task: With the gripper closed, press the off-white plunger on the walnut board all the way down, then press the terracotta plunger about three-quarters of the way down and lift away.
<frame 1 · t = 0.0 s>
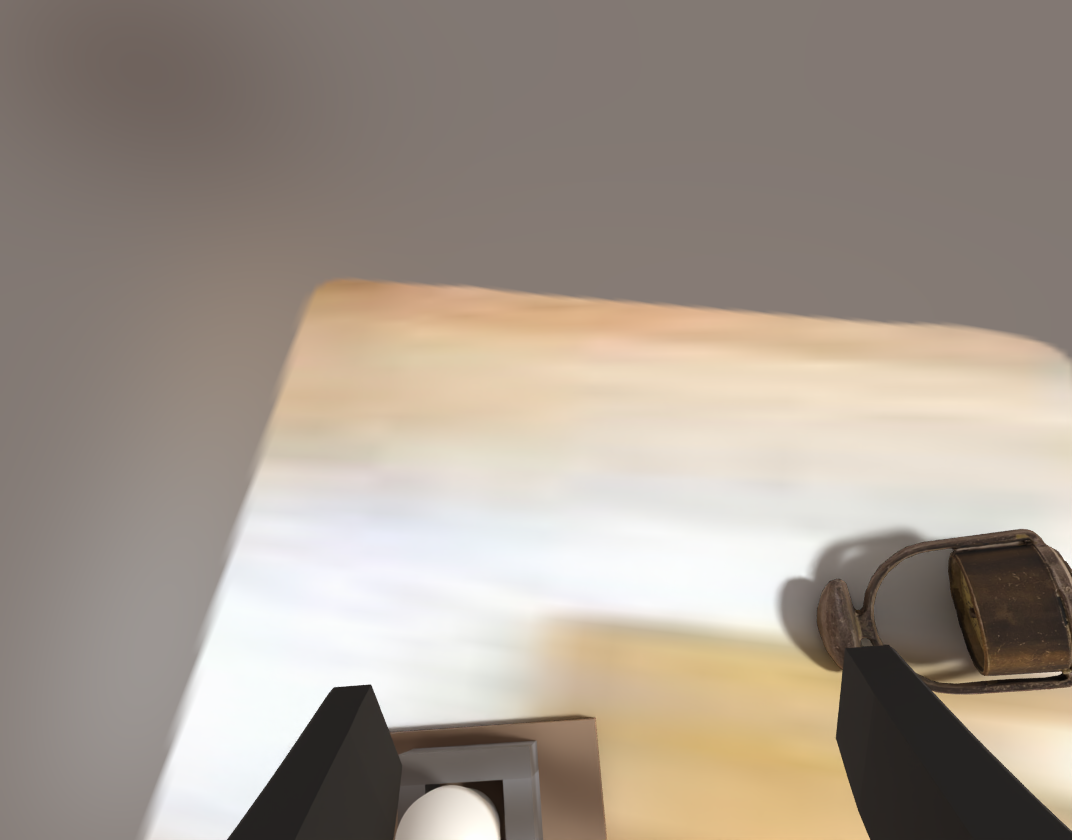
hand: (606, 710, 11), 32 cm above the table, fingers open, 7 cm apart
pale plunger: (456, 836, 34), point 6 cm above the table, slide at 0.0 cm
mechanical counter: (928, 609, 40), on the table
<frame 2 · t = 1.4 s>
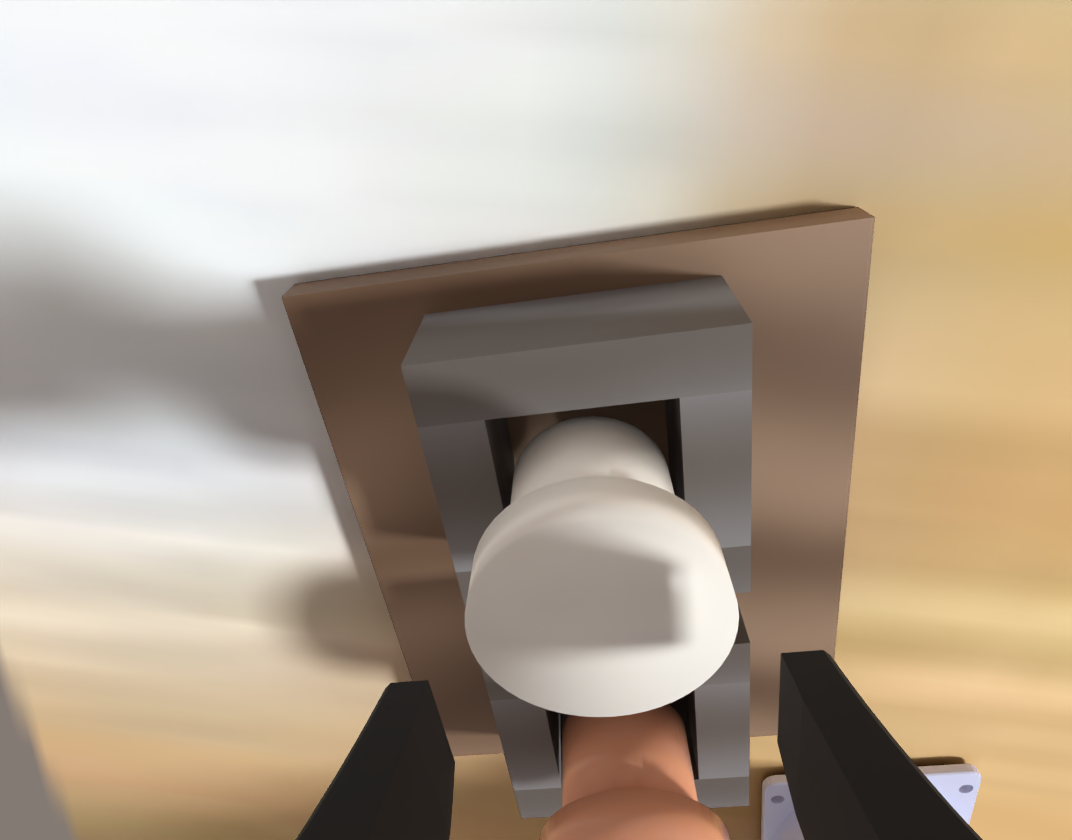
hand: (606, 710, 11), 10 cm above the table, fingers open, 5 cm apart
rust plunger: (629, 806, 18), point 6 cm above the table, slide at 0.0 cm
pale plunger: (594, 546, 14), point 6 cm above the table, slide at 0.0 cm
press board: (601, 532, 22), on the table
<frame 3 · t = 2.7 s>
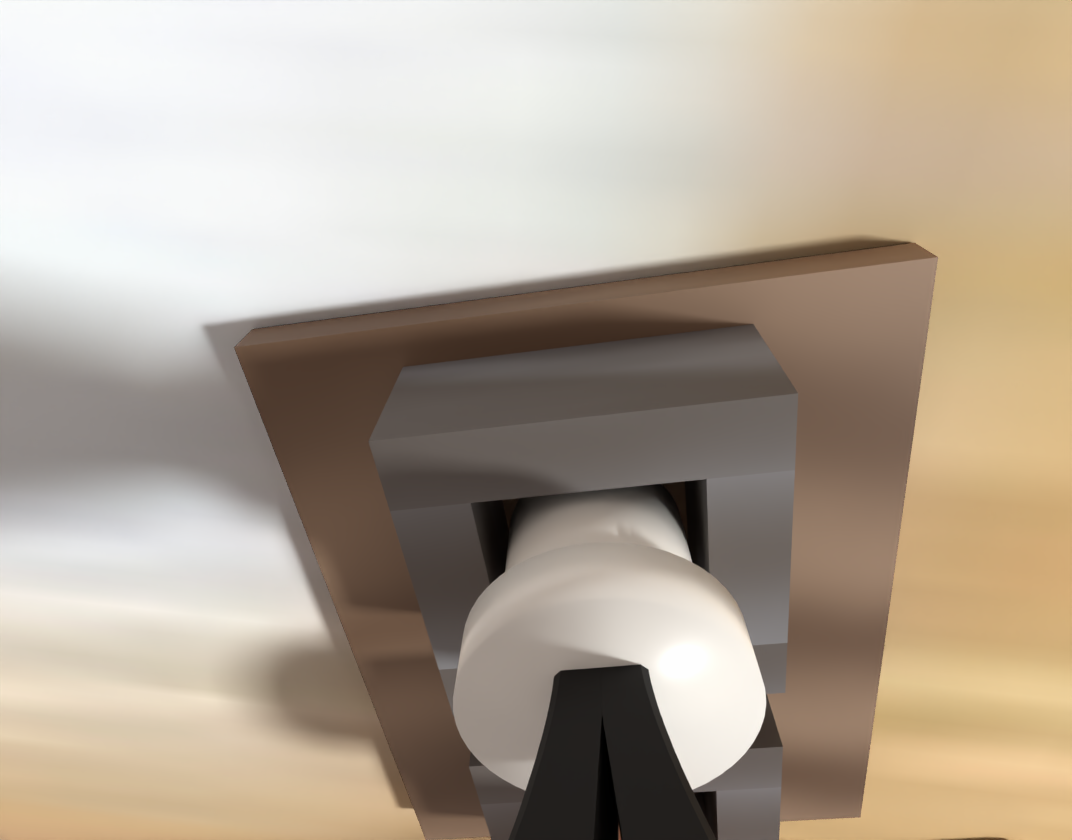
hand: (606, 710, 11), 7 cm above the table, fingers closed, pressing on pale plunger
pale plunger: (600, 609, 13), point 5 cm above the table, slide at 1.2 cm, touching gripper
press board: (608, 602, 19), on the table
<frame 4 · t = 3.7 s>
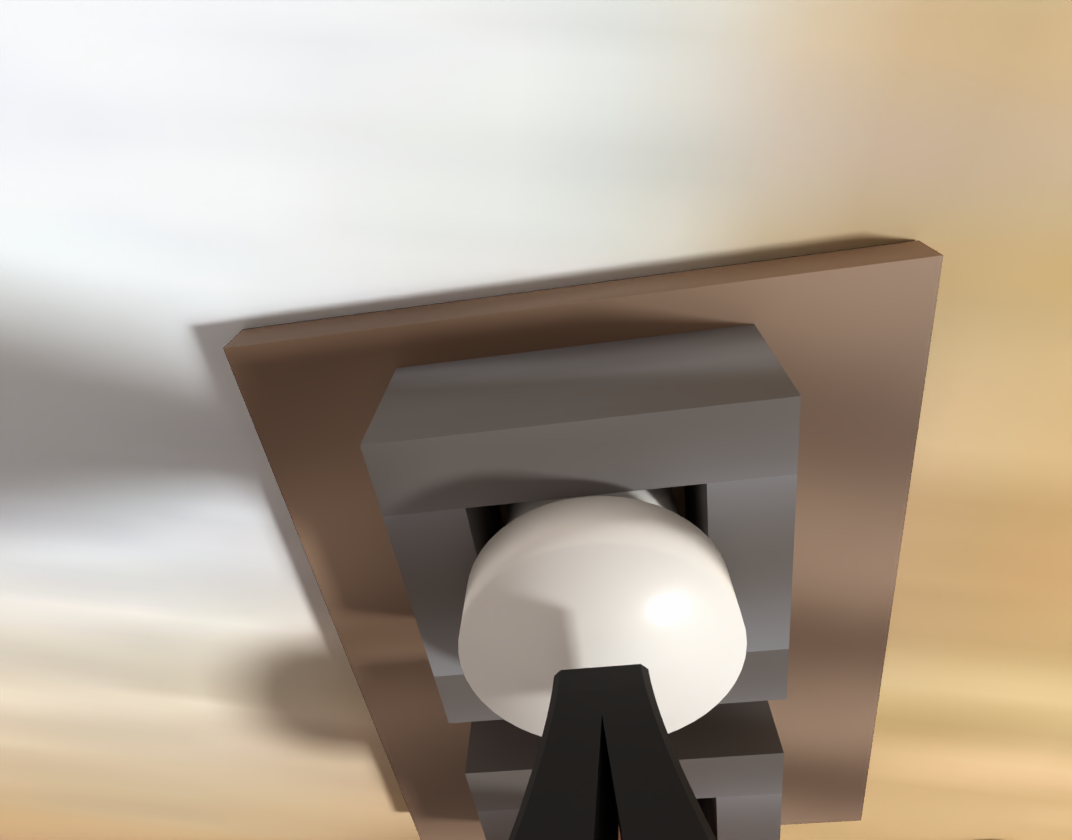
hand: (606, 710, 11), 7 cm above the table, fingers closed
pale plunger: (595, 565, 14), point 3 cm above the table, slide at 2.6 cm
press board: (606, 605, 19), on the table
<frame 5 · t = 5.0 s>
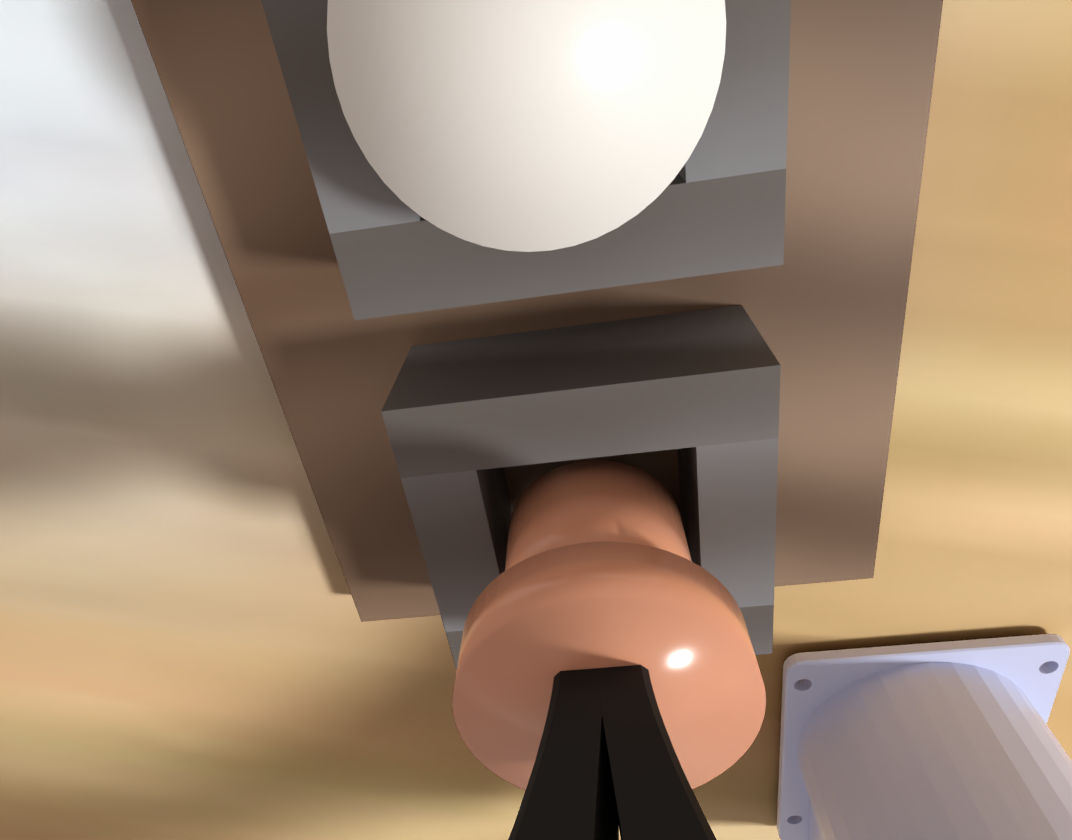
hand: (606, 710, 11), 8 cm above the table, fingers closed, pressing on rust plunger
rust plunger: (600, 609, 13), point 6 cm above the table, slide at 0.2 cm, touching gripper
pale plunger: (531, 50, 10), point 3 cm above the table, slide at 2.6 cm
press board: (567, 271, 15), on the table
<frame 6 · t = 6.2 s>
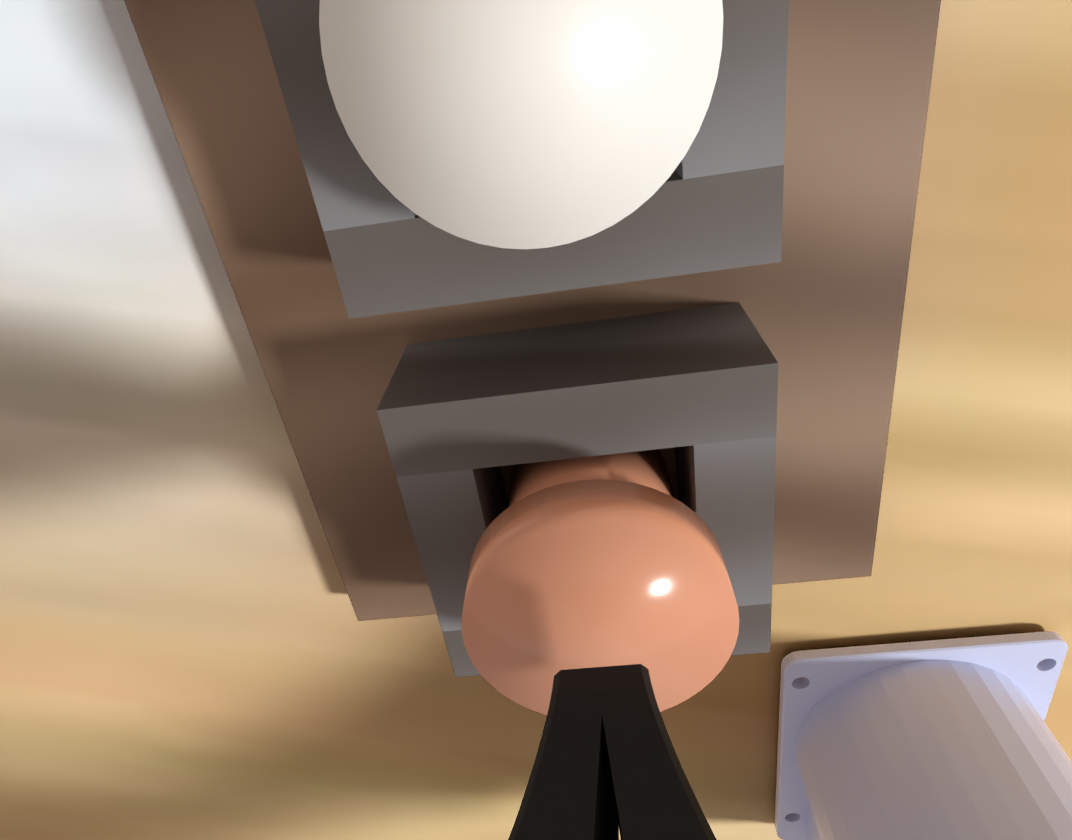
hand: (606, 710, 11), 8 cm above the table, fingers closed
rust plunger: (593, 549, 14), point 4 cm above the table, slide at 1.8 cm
pale plunger: (527, 45, 10), point 3 cm above the table, slide at 2.6 cm
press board: (563, 269, 15), on the table
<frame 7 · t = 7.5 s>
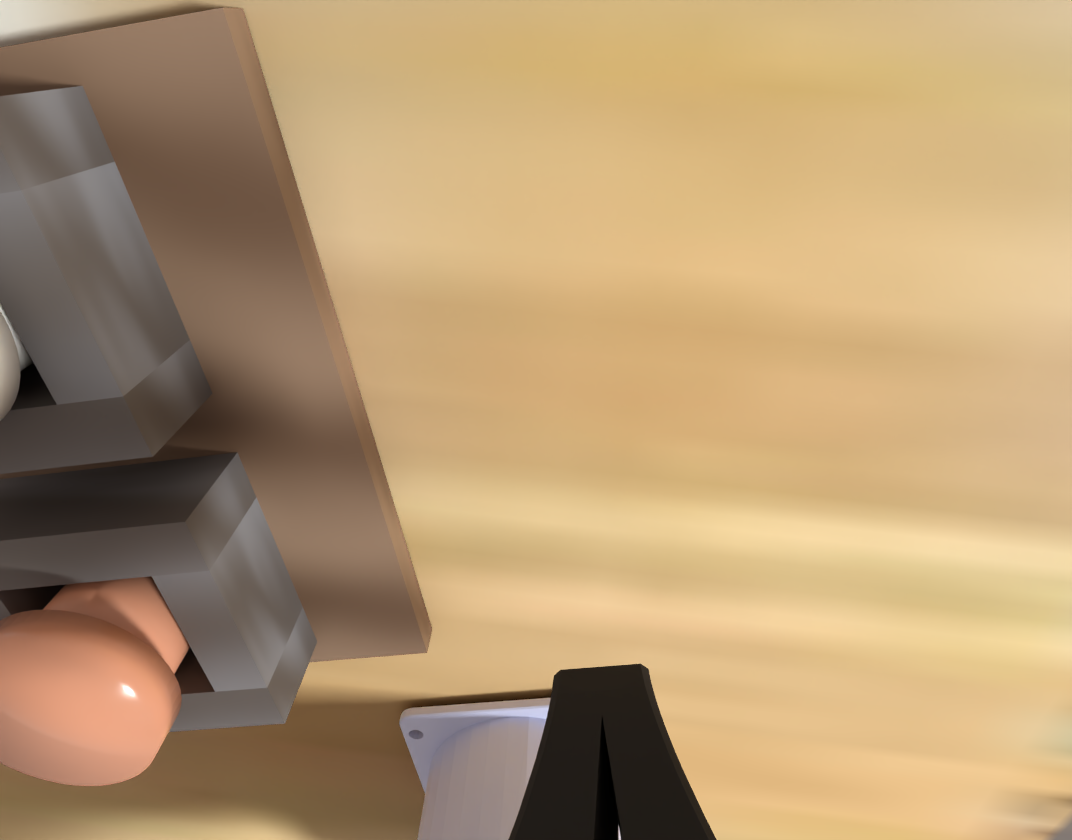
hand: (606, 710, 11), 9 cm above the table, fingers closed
rust plunger: (105, 649, 18), point 4 cm above the table, slide at 1.8 cm
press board: (118, 420, 19), on the table
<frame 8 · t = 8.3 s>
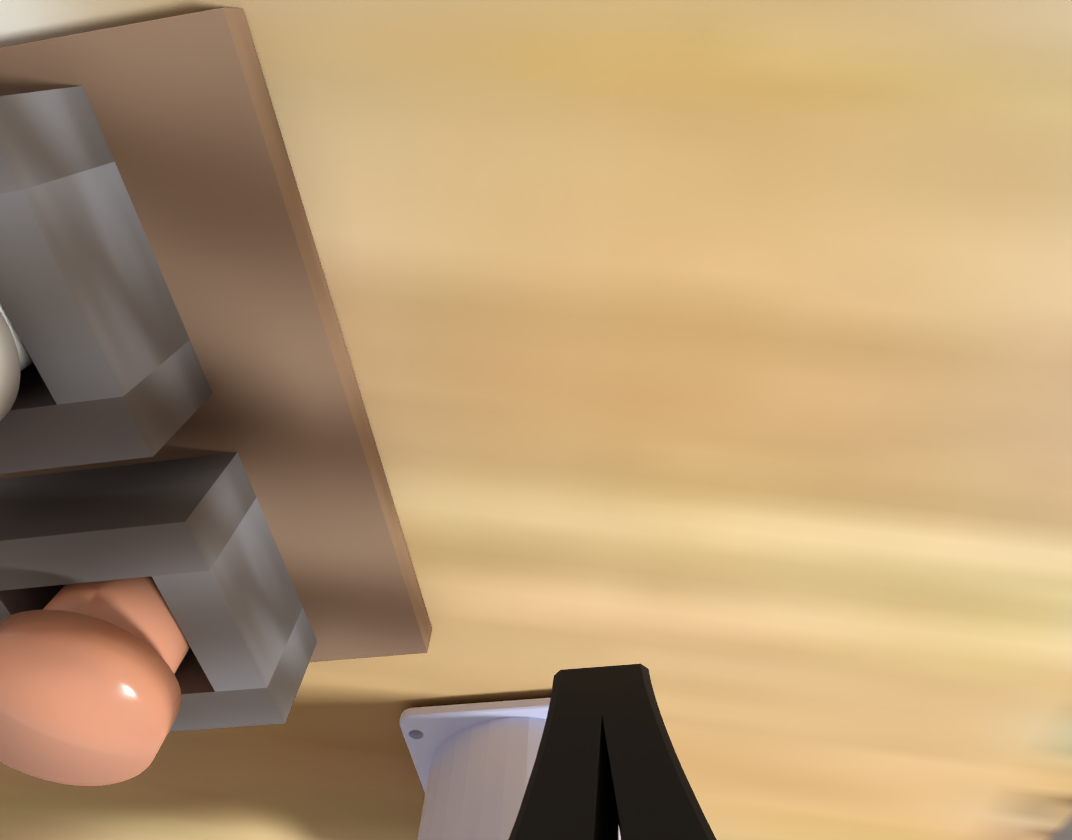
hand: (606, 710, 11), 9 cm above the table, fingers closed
rust plunger: (105, 649, 18), point 4 cm above the table, slide at 1.8 cm
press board: (118, 420, 19), on the table
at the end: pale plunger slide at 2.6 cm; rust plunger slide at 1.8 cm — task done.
